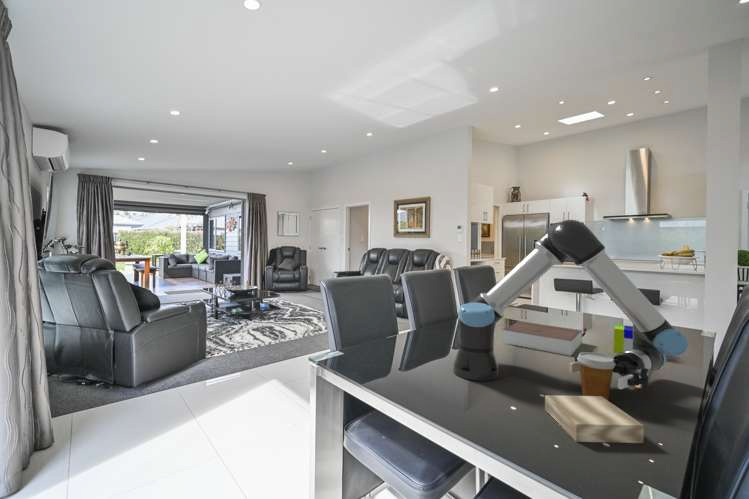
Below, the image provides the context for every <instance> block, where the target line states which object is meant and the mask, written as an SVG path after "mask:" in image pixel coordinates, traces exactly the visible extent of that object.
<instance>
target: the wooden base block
mask: <svg viewBox="0 0 749 499" xmlns="http://www.w3.org/2000/svg"><path fill="white" fill-rule="evenodd" d="M544 411H546V413H547V414H548V413H549V414H550V415H551V416H552V417H553V418H554V419H555V420H556V421H557V422H558V423H559V424H558V423H557V422H556V421H555V420H554V419H553V420H554V421H555V422H556V423H557V424H558V425H559V426H560V425H561V426H562V427H561V426H560V427H561V428H562V429H563V430H564V431H565V432H566V433H567V434H568V435H569V436H570V438H572V440H574V441H575V442H577V443H614V444H615V443H616V444H617V443H622V444H623V443H627V444H628V443H629V444H644V435H645V433H644V432H645V431H644V430H645V425H644V424H642V423H640V422H639V421H638V420H637V419H635V418H634V417H632V416H631V415H629V414H628V413H626V412H625V411H624V410H622V409H621V408H619V407H617V406H616V405H615V404H614V403H612V402H610V401H609V399H608V400H606V399H605V398H603V397H602V396H583V395H549V394H547V395H544ZM550 415H549V416H550ZM551 416H550V417H551ZM552 417H551V418H552Z"/></svg>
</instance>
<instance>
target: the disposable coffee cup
mask: <svg viewBox="0 0 749 499" xmlns="http://www.w3.org/2000/svg"><path fill="white" fill-rule="evenodd" d="M576 357H577V360H578V362H579V368H580V371H579V376H580V384H581V385H580V386H581V393H582V396H602V397H603V398H605V399H606V400H608V401H609V396H610V391H611V384H612V379H613V373H614V372H613V368H614V366H615V365H616V364H615V363H614V359H613V358H614V357H612V356H609V355H606V354H603V353H598V352H597V353H596V352H589V351H588V352H585V351H584V352H579V354H578V356H576Z"/></svg>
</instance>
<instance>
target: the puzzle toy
mask: <svg viewBox="0 0 749 499" xmlns="http://www.w3.org/2000/svg"><path fill="white" fill-rule="evenodd" d="M631 350H633V325H623V324H615V325H614V329H613V353H617V354H620V353H624V352H627V351H631Z"/></svg>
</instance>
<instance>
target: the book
mask: <svg viewBox="0 0 749 499" xmlns="http://www.w3.org/2000/svg"><path fill="white" fill-rule="evenodd" d="M501 330H502V343H503V344H505V345H506V344H507V345H510V346H516V345H517V346H516V347H521V346H522V347H521V348H526V347H527V349H532V350H537V351H544V352H549V353H553V354H559V355H565V356H569V357H570V356H572V355H573V354H574V353H575V351H576V350H577V349H578V348H579V346H581V345H582V344H583V330H582V329H577V328H576V329H575V328H568V327H562V326H555V325H549V324H540V323H534V322H527V321H521V320H520V321H519V320H518V321H516V322H514V323H513V324H510V325H509V326H507V327H505V328H502V329H501Z"/></svg>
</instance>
